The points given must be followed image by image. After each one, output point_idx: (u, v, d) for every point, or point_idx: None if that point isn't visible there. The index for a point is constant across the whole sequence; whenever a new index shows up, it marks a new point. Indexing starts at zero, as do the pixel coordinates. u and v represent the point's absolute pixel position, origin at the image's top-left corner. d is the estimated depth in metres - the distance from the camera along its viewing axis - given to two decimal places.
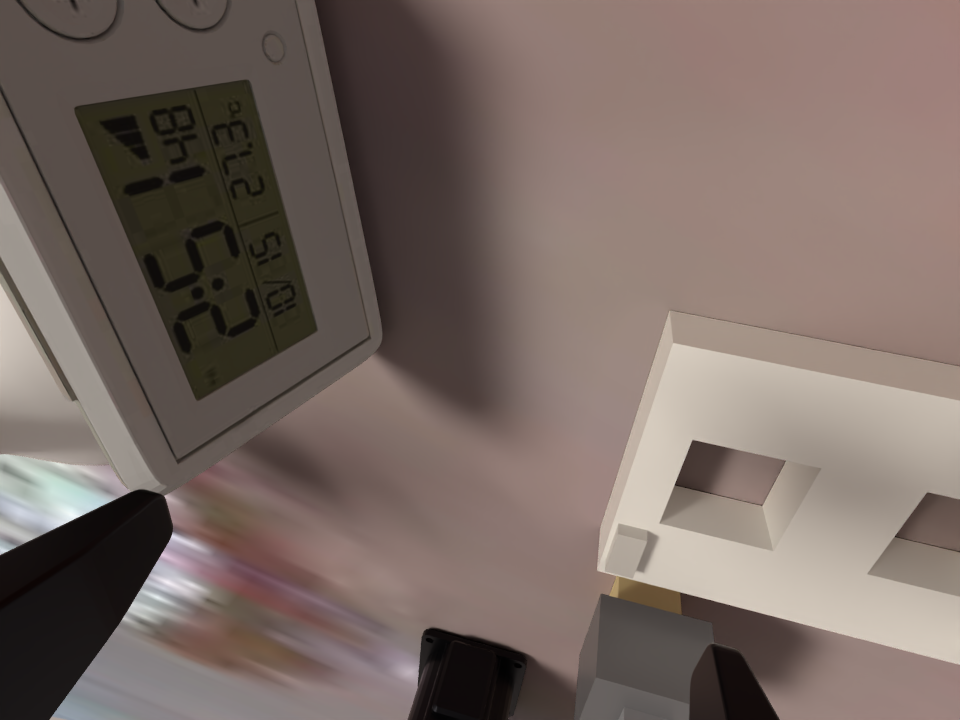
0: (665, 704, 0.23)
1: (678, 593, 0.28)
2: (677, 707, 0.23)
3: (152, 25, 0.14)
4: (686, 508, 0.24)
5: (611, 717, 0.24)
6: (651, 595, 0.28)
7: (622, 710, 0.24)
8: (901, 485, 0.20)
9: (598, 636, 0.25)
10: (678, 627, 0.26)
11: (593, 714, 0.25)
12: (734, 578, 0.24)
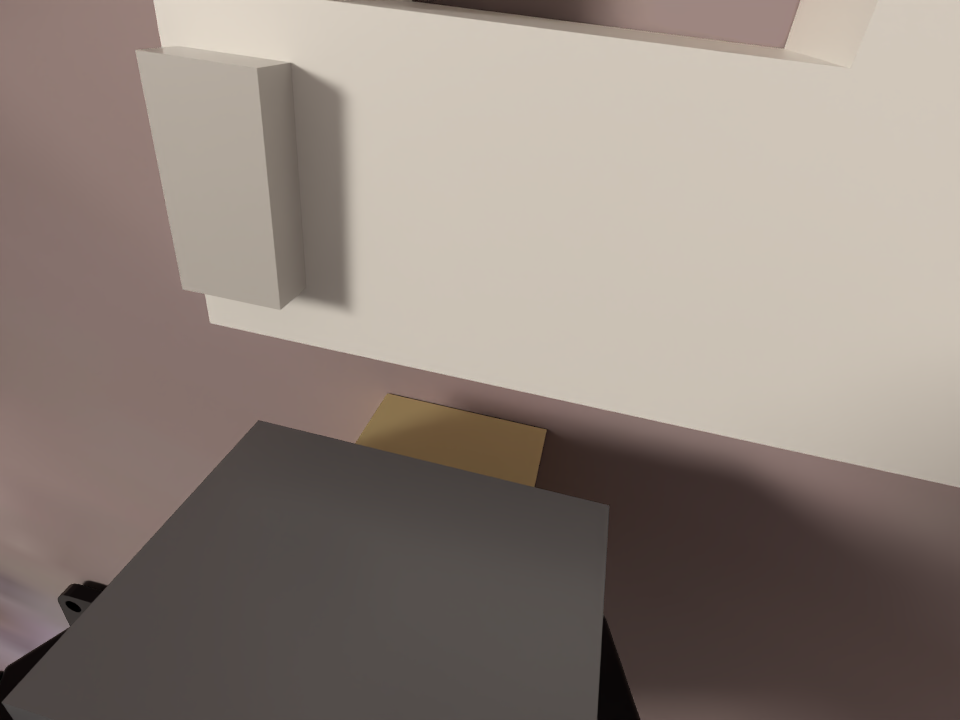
0: None
1: (537, 448, 0.10)
2: None
3: None
4: (479, 14, 0.06)
5: None
6: (454, 450, 0.10)
7: None
8: None
9: (156, 538, 0.06)
10: (484, 515, 0.07)
11: None
12: (672, 282, 0.06)
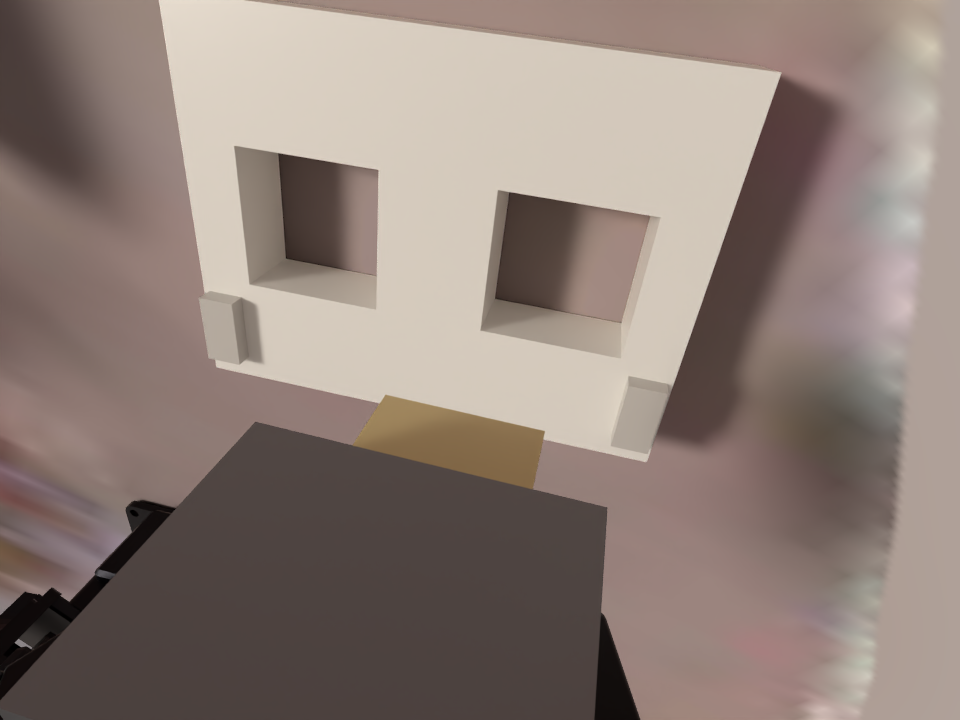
0: None
1: (536, 450, 0.10)
2: None
3: None
4: (299, 277, 0.20)
5: None
6: (452, 451, 0.10)
7: None
8: (467, 182, 0.16)
9: (152, 541, 0.06)
10: (482, 517, 0.07)
11: None
12: (352, 357, 0.20)
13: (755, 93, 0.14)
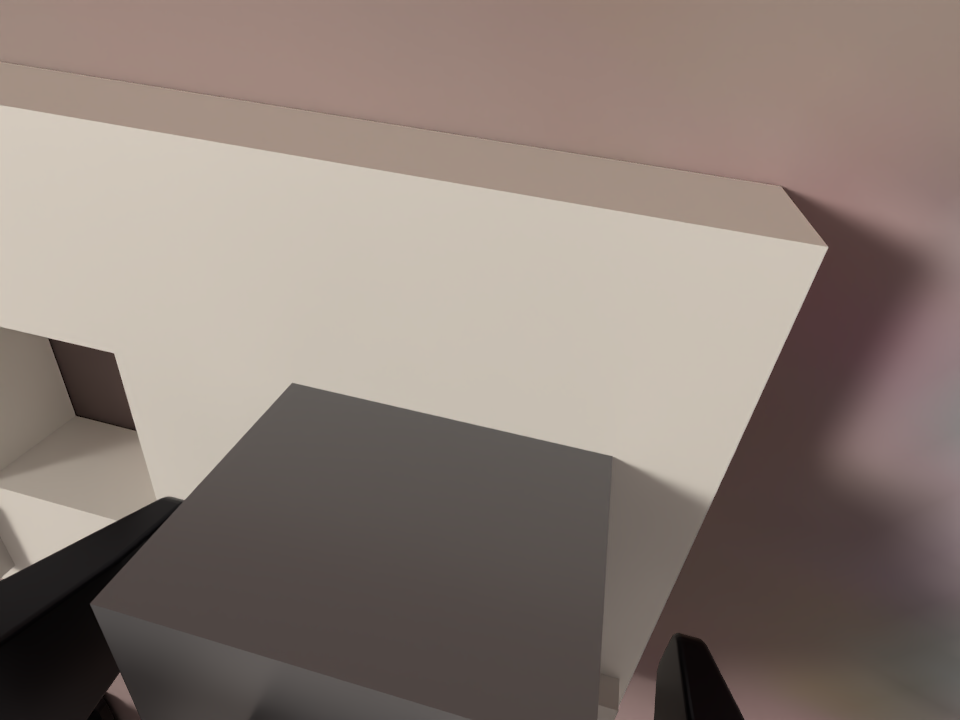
0: (368, 715, 0.06)
1: None
2: None
3: None
4: (74, 459, 0.13)
5: None
6: None
7: None
8: (258, 383, 0.09)
9: (208, 479, 0.07)
10: (500, 463, 0.08)
11: None
12: None
13: (771, 282, 0.07)
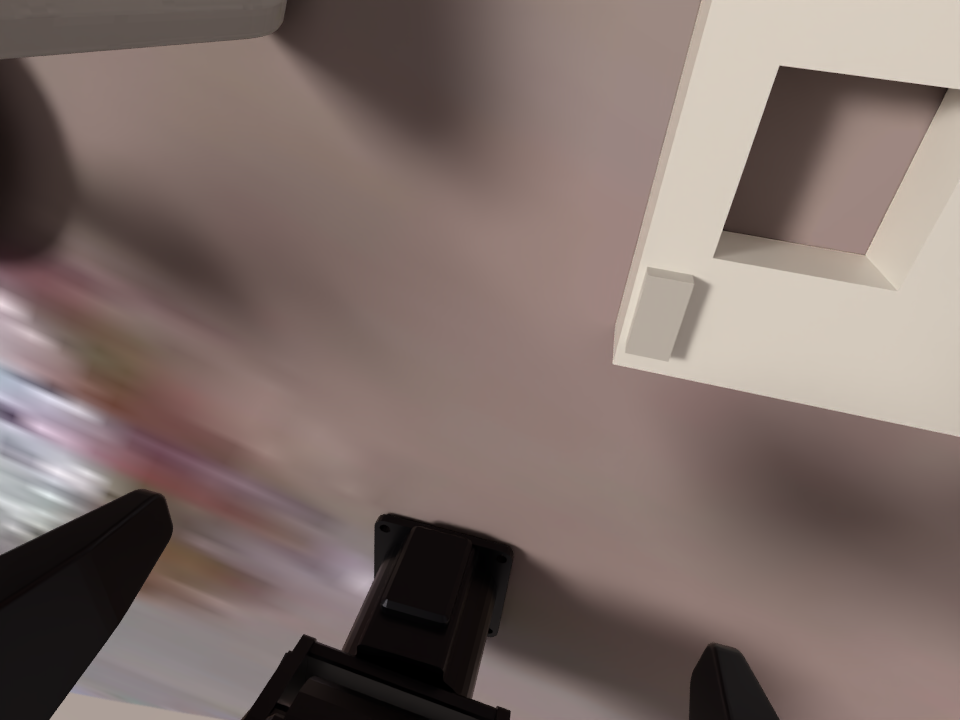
0: None
1: None
2: None
3: None
4: (751, 249, 0.16)
5: None
6: None
7: None
8: None
9: None
10: None
11: None
12: (827, 353, 0.16)
13: None
